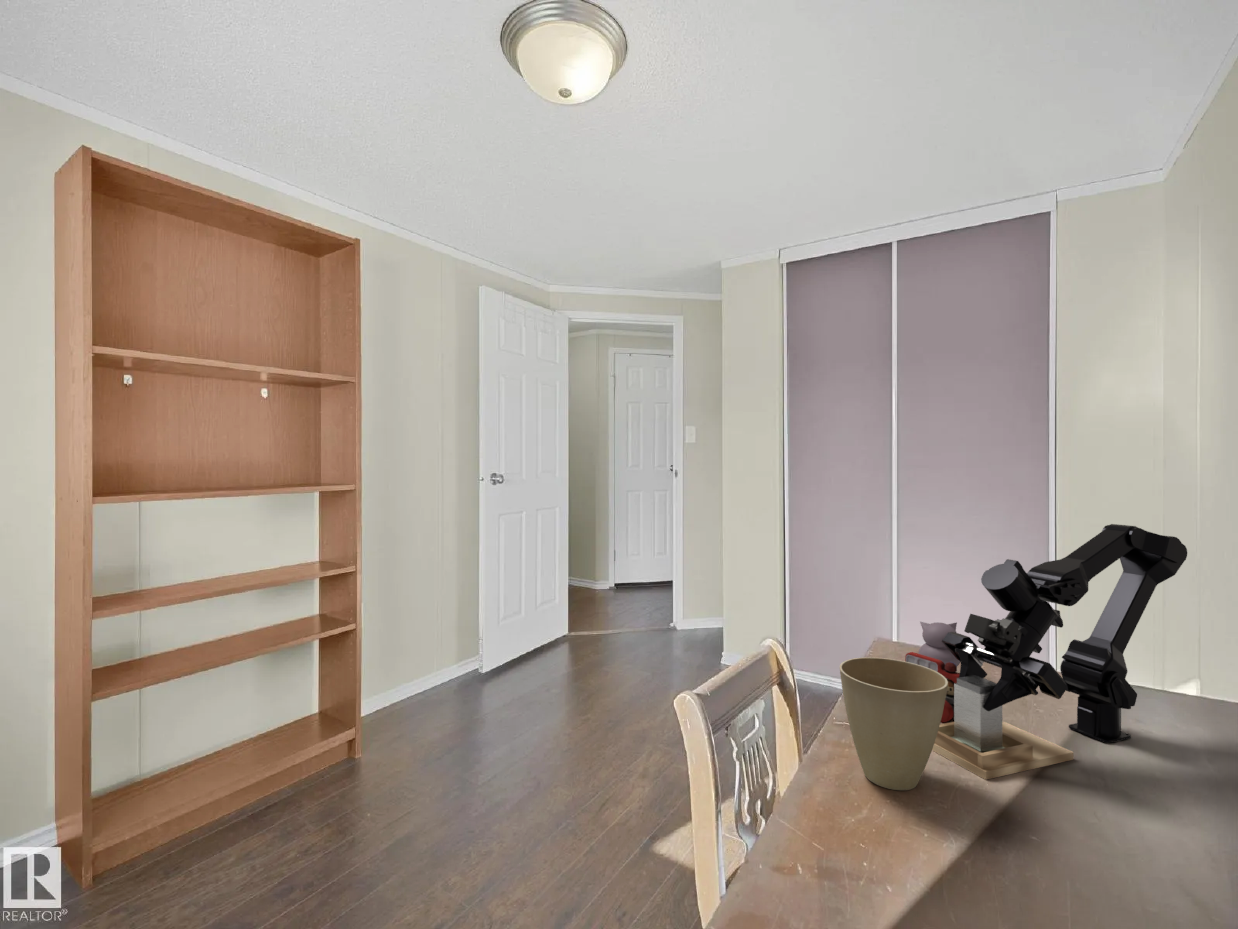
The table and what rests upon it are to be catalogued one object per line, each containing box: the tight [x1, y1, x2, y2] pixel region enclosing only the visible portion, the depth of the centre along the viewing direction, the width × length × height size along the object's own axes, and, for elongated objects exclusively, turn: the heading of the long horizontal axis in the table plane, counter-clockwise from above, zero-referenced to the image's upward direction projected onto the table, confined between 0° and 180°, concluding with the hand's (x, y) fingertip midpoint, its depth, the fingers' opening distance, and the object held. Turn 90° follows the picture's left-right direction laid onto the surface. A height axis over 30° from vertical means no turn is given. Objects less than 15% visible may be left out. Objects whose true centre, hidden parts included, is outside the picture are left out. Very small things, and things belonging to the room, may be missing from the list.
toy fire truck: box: [904, 651, 960, 724], centre depth 114 cm, size 7×12×10 cm, turn 32°
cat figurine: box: [918, 621, 961, 679], centre depth 134 cm, size 8×8×12 cm
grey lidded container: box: [953, 675, 1003, 751], centre depth 97 cm, size 4×5×10 cm
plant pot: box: [839, 656, 948, 791], centre depth 90 cm, size 15×15×16 cm
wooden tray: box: [932, 721, 1075, 781], centre depth 99 cm, size 19×12×3 cm, turn 109°
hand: (971, 702), depth 97 cm, fingers closed on grey lidded container, 5 cm apart
